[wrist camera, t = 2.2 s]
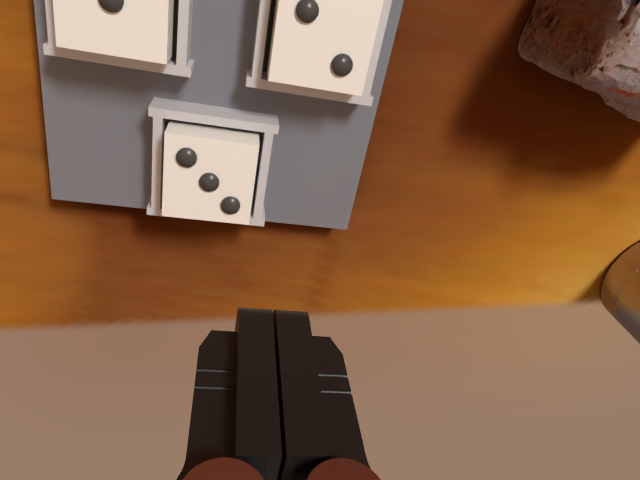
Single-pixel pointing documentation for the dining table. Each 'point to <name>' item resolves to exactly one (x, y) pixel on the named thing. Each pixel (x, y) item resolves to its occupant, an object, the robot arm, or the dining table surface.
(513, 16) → the dining table surface
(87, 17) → the button one
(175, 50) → the button board
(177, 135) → the button three
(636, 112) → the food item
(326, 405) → the robot arm
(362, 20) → the button two
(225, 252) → the dining table surface
